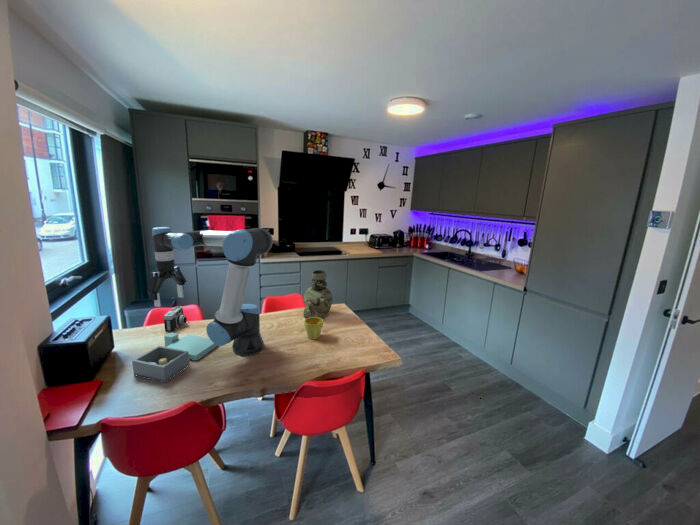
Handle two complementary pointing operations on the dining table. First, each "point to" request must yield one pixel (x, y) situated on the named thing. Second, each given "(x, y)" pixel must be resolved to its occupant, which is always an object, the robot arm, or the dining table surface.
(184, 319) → the camera
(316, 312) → the ceramic vessel
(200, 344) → the lid
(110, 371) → the dining table surface
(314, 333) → the plant pot
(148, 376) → the tub
